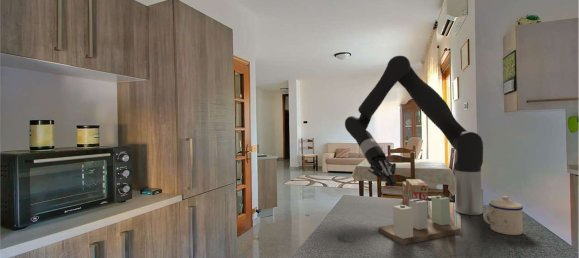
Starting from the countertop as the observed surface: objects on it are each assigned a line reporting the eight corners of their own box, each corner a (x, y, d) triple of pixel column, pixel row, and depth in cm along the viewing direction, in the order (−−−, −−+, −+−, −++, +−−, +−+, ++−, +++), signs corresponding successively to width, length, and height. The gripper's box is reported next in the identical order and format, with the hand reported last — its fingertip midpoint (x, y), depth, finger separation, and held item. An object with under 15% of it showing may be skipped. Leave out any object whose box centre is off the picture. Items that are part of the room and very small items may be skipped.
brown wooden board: (431, 221, 106) (431, 217, 106) (460, 232, 94) (460, 228, 94) (378, 231, 97) (378, 227, 97) (403, 244, 86) (403, 239, 86)
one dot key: (403, 232, 91) (403, 203, 91) (413, 236, 88) (412, 207, 88) (393, 234, 90) (393, 205, 90) (402, 238, 86) (402, 208, 86)
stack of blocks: (402, 200, 137) (401, 175, 137) (416, 201, 136) (415, 175, 135) (412, 214, 116) (411, 184, 116) (428, 214, 115) (428, 184, 114)
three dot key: (418, 224, 98) (418, 197, 98) (427, 228, 95) (427, 200, 95) (409, 225, 97) (409, 199, 97) (418, 229, 93) (417, 201, 93)
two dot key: (440, 220, 102) (439, 194, 102) (450, 223, 98) (449, 197, 98) (431, 221, 100) (431, 195, 100) (441, 225, 97) (440, 198, 97)
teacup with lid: (508, 225, 100) (508, 192, 100) (530, 235, 91) (530, 199, 91) (475, 226, 100) (474, 193, 100) (494, 236, 91) (493, 200, 91)
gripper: (362, 146, 115) (383, 181, 104) (388, 144, 120) (411, 177, 108) (355, 158, 120) (375, 192, 109) (381, 156, 125) (402, 188, 113)
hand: (393, 185), depth 109 cm, fingers closed
